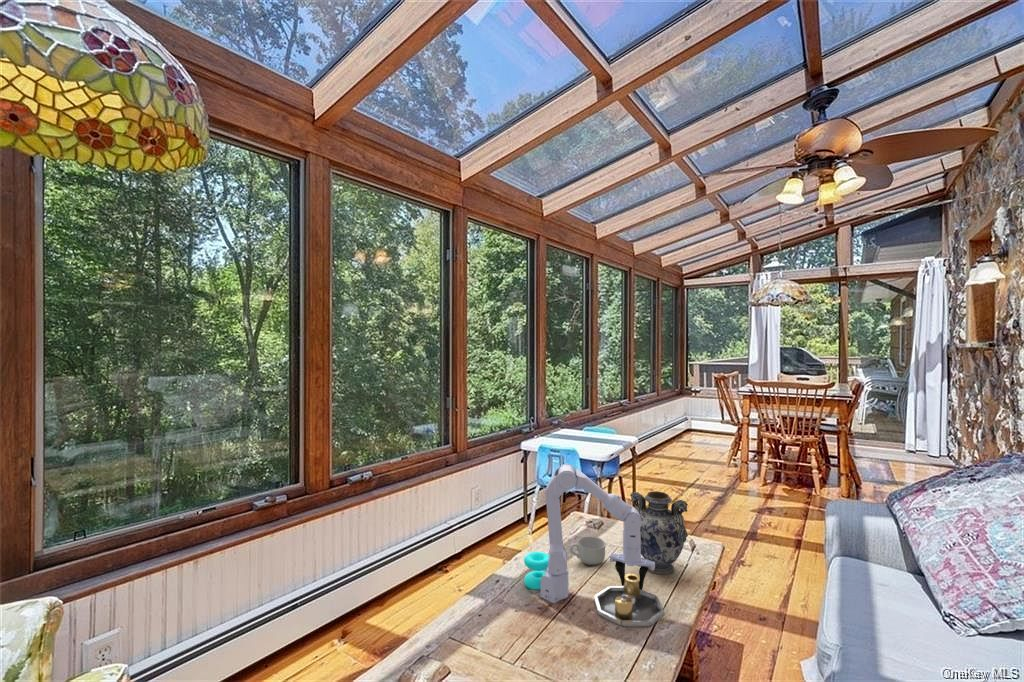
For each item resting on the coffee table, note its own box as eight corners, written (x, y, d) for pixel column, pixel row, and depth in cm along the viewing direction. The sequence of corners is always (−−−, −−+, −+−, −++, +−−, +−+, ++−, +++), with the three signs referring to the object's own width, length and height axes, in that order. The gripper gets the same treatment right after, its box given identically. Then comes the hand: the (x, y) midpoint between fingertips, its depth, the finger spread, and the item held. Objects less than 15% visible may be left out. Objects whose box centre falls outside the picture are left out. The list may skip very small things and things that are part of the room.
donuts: (536, 566, 160) (518, 555, 168) (536, 595, 160) (518, 583, 168) (558, 557, 166) (539, 547, 174) (558, 586, 166) (540, 574, 174)
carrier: (639, 639, 136) (639, 616, 136) (581, 609, 151) (581, 589, 151) (674, 609, 151) (674, 589, 151) (618, 585, 166) (618, 566, 166)
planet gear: (622, 594, 155) (622, 579, 155) (626, 587, 160) (626, 572, 160) (638, 598, 153) (638, 583, 153) (641, 590, 158) (641, 575, 158)
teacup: (604, 556, 188) (604, 536, 188) (607, 569, 178) (606, 548, 178) (569, 555, 190) (569, 535, 190) (570, 568, 179) (569, 547, 179)
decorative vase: (693, 563, 181) (692, 491, 180) (684, 586, 165) (682, 507, 164) (638, 551, 192) (636, 483, 191) (624, 572, 176) (622, 497, 175)
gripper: (607, 546, 156) (607, 587, 156) (652, 554, 150) (652, 597, 150) (612, 538, 162) (612, 577, 162) (655, 545, 156) (656, 586, 156)
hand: (632, 586), depth 157 cm, fingers closed on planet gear, 5 cm apart
